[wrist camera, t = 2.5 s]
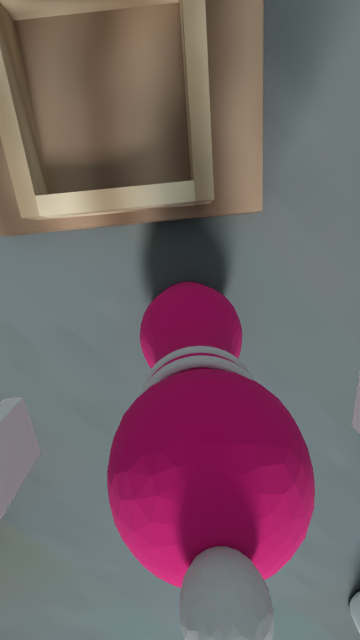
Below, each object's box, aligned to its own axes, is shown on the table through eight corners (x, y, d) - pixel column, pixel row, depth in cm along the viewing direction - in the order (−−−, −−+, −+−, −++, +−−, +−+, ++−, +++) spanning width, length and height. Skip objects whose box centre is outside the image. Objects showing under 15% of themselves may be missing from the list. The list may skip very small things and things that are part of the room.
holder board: (256, -29, 17) (279, -108, 13) (256, 212, 21) (274, 207, 17) (-59, 6, 17) (-128, -61, 13) (5, 236, 21) (-33, 236, 17)
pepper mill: (133, 295, 23) (-102, 608, 4) (212, 261, 22) (442, 438, 3) (167, 365, 25) (131, 799, 6) (240, 336, 24) (484, 732, 5)
